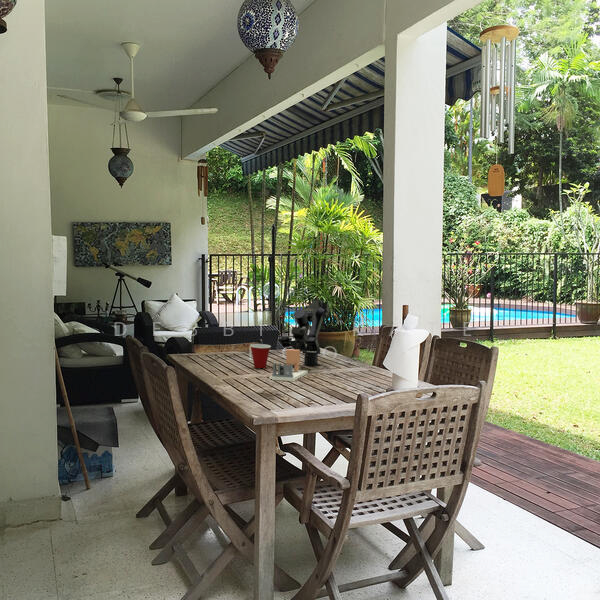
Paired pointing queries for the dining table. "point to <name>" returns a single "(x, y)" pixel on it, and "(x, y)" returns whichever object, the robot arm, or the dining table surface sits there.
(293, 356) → the marker sleeve
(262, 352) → the plastic cup
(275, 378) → the cord board
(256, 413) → the dining table surface
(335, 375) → the dining table surface
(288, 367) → the connector and comb
